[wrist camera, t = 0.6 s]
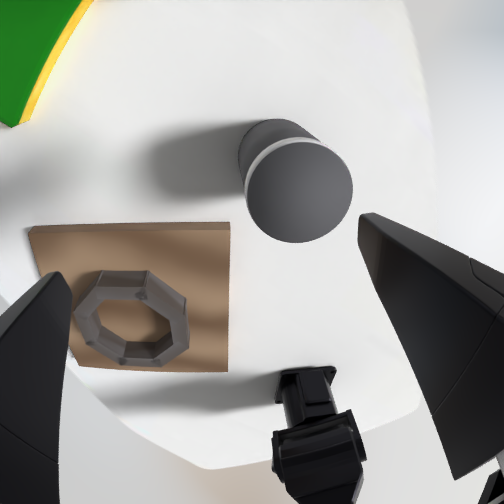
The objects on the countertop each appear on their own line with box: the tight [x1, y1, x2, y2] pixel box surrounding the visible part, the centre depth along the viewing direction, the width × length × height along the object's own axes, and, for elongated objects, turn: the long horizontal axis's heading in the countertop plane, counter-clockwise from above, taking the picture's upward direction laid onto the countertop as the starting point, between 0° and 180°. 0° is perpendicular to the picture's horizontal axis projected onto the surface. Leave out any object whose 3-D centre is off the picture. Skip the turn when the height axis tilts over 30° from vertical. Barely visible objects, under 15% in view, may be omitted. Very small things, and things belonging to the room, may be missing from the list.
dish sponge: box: [0, 0, 93, 128], centre depth 12 cm, size 7×14×2 cm, turn 143°
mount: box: [28, 222, 230, 372], centre depth 25 cm, size 16×16×3 cm
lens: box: [238, 119, 353, 243], centre depth 18 cm, size 5×5×7 cm
